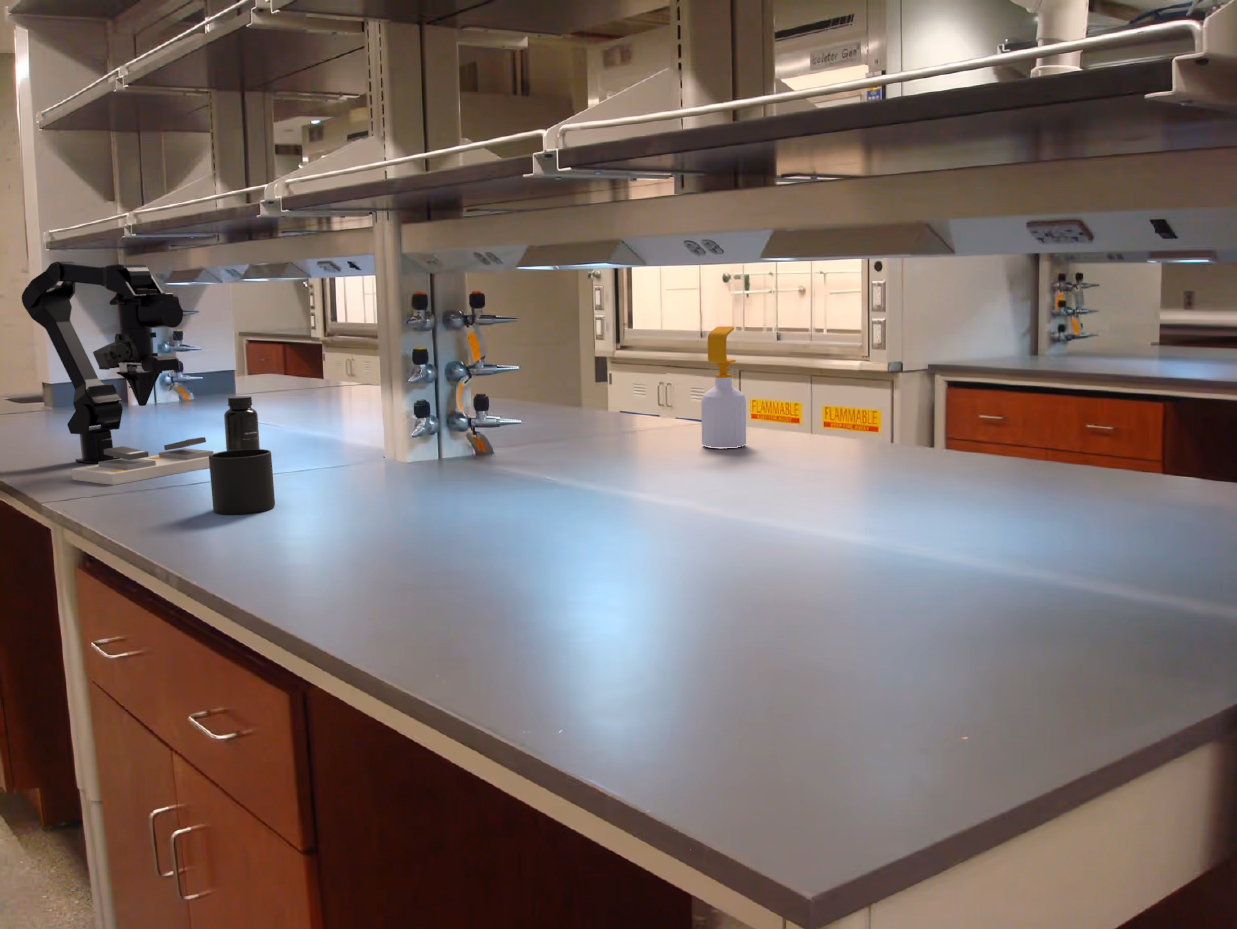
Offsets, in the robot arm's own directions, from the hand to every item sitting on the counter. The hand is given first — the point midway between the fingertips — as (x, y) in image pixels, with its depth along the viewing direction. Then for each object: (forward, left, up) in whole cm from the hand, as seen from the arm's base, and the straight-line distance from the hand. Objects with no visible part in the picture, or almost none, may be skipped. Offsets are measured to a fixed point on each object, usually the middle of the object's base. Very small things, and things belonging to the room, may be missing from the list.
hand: (142, 405), depth 228 cm
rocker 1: (+10, -11, -8) cm, 17 cm away
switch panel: (+9, -6, -12) cm, 16 cm away
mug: (+56, -21, -12) cm, 61 cm away
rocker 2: (+10, +2, -8) cm, 13 cm away
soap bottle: (+96, +68, -12) cm, 118 cm away
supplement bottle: (+6, +19, -12) cm, 23 cm away
